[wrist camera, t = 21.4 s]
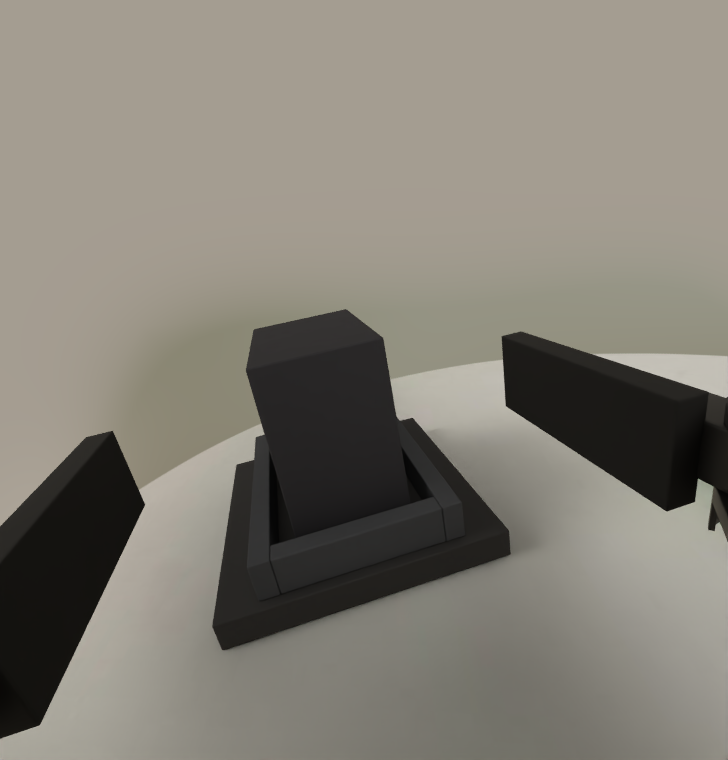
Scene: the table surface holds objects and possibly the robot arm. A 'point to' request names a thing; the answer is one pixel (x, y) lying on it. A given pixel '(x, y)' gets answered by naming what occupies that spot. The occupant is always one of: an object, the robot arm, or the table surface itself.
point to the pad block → (328, 419)
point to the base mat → (345, 545)
